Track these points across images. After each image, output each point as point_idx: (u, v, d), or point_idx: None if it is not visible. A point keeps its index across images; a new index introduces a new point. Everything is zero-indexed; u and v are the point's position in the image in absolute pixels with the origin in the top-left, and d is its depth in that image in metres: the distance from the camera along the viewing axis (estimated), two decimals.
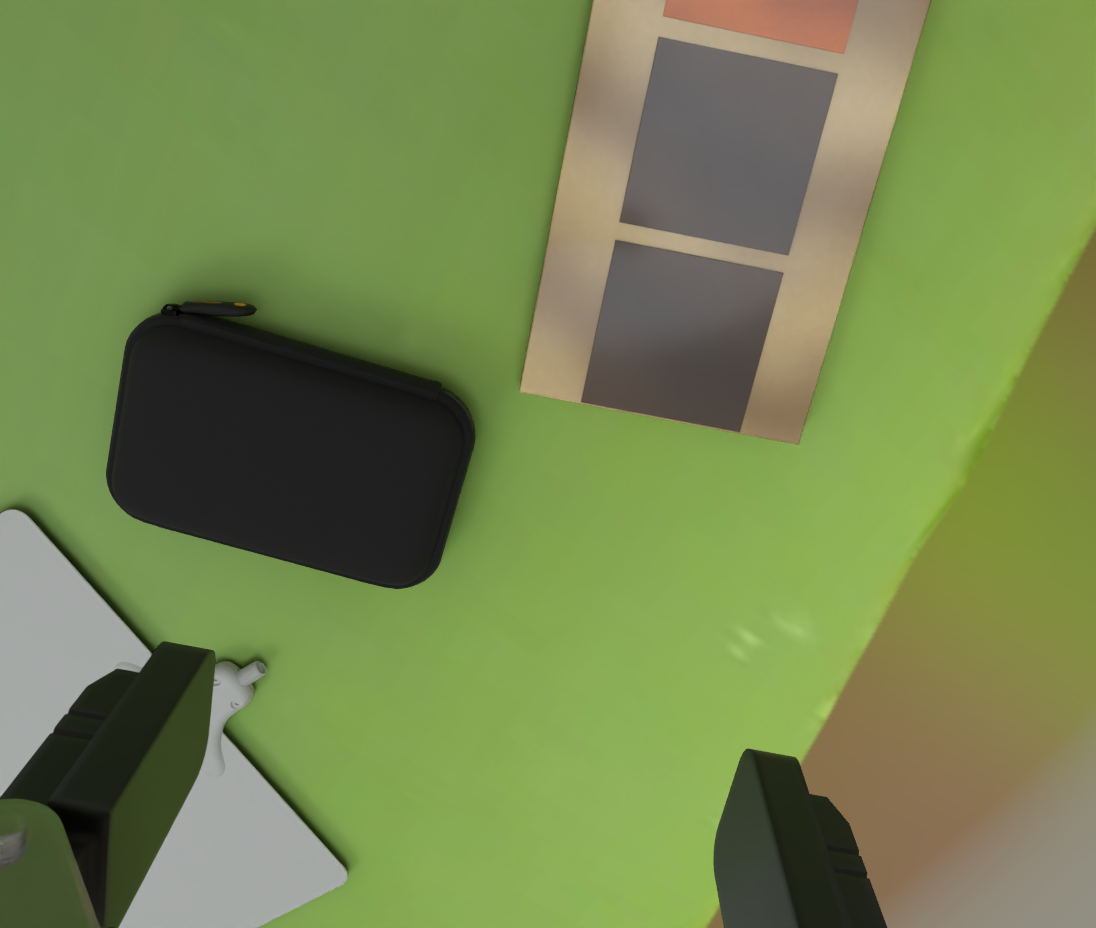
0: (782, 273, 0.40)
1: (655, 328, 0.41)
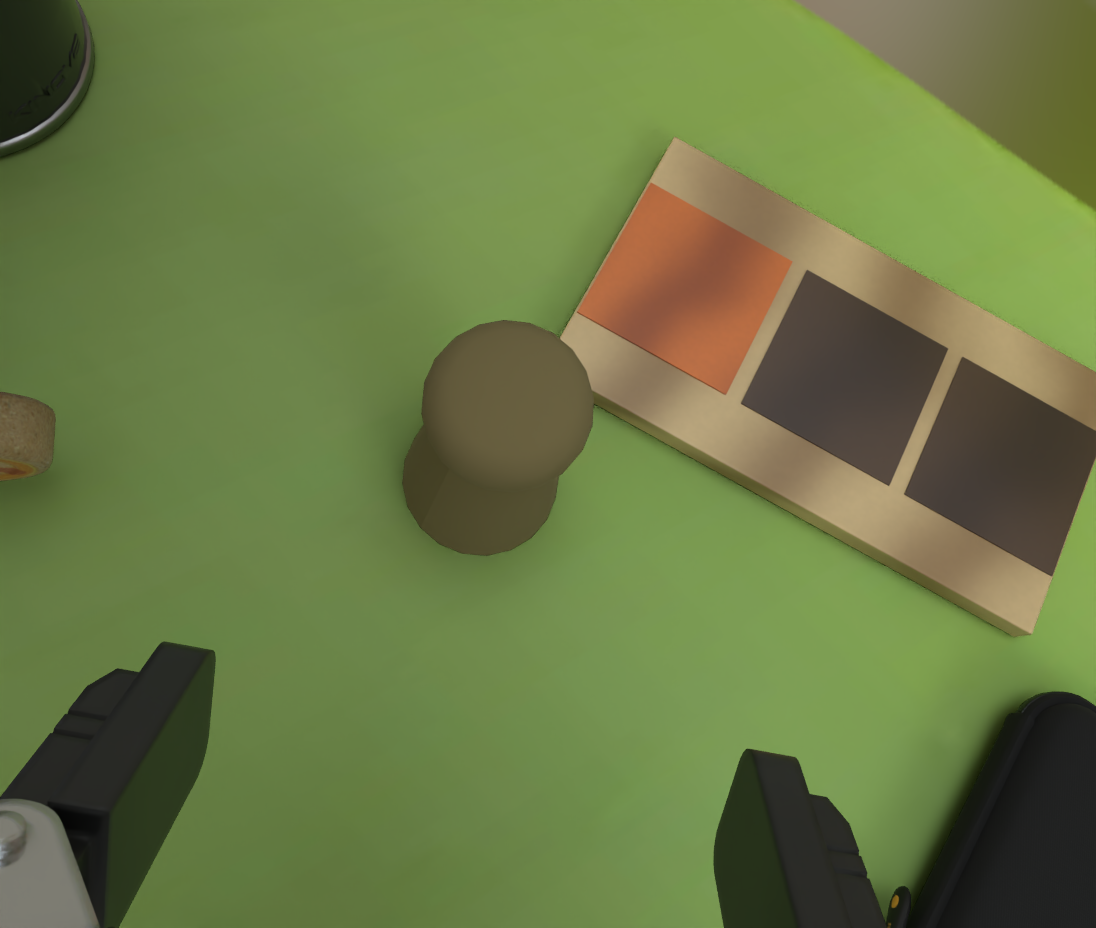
0: (963, 357, 0.43)
1: (992, 482, 0.42)
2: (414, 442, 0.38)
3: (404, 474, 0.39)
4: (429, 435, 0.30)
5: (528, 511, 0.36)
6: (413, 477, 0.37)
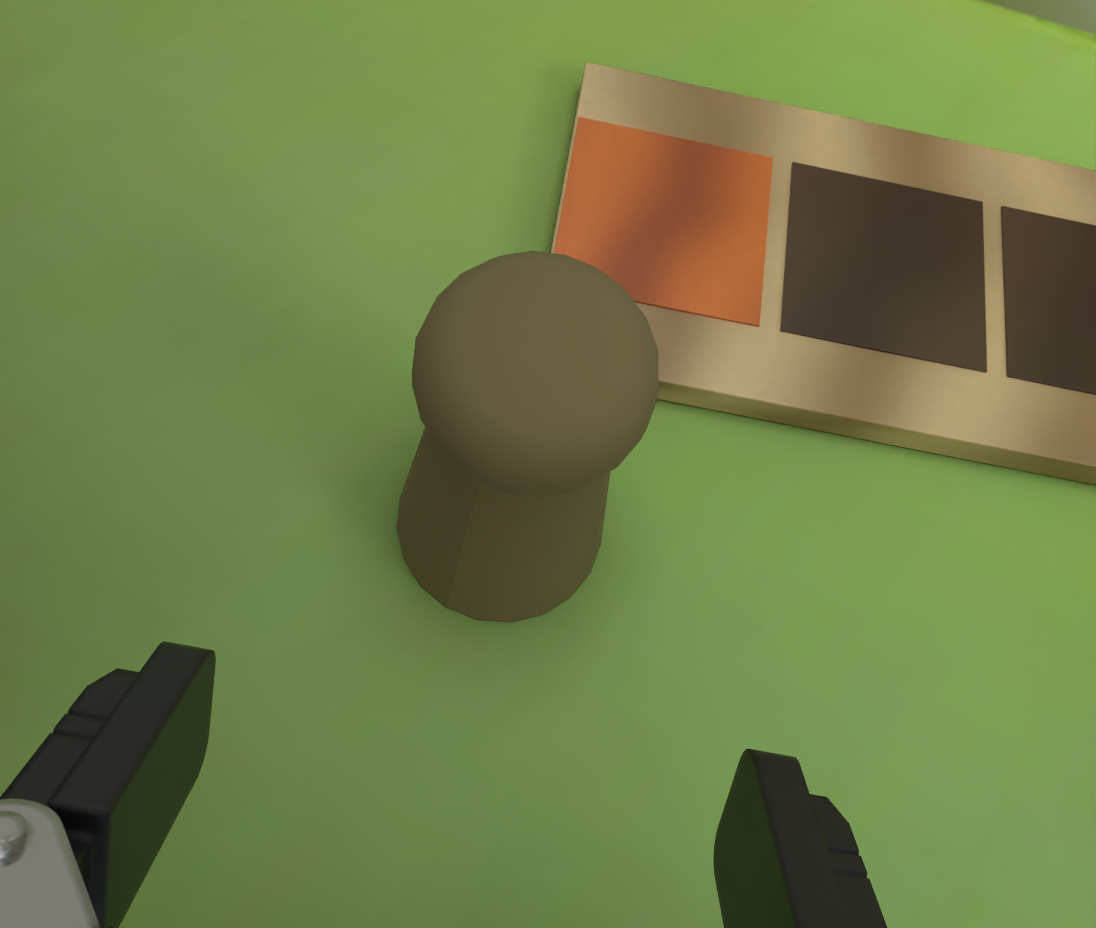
0: (1002, 206, 0.35)
1: None
2: (404, 497, 0.28)
3: (403, 545, 0.29)
4: (444, 441, 0.20)
5: (588, 528, 0.26)
6: (420, 539, 0.27)
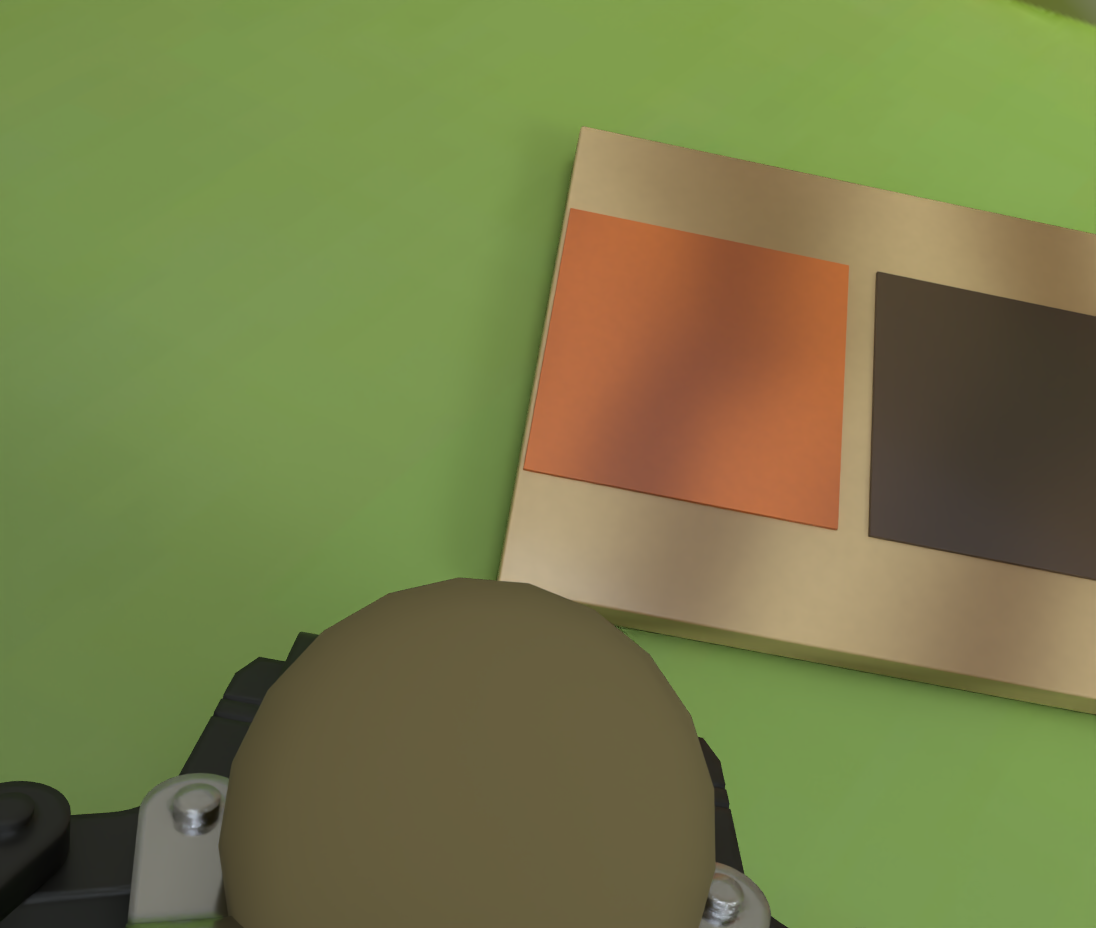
0: None
1: None
2: None
3: None
4: None
5: None
6: None
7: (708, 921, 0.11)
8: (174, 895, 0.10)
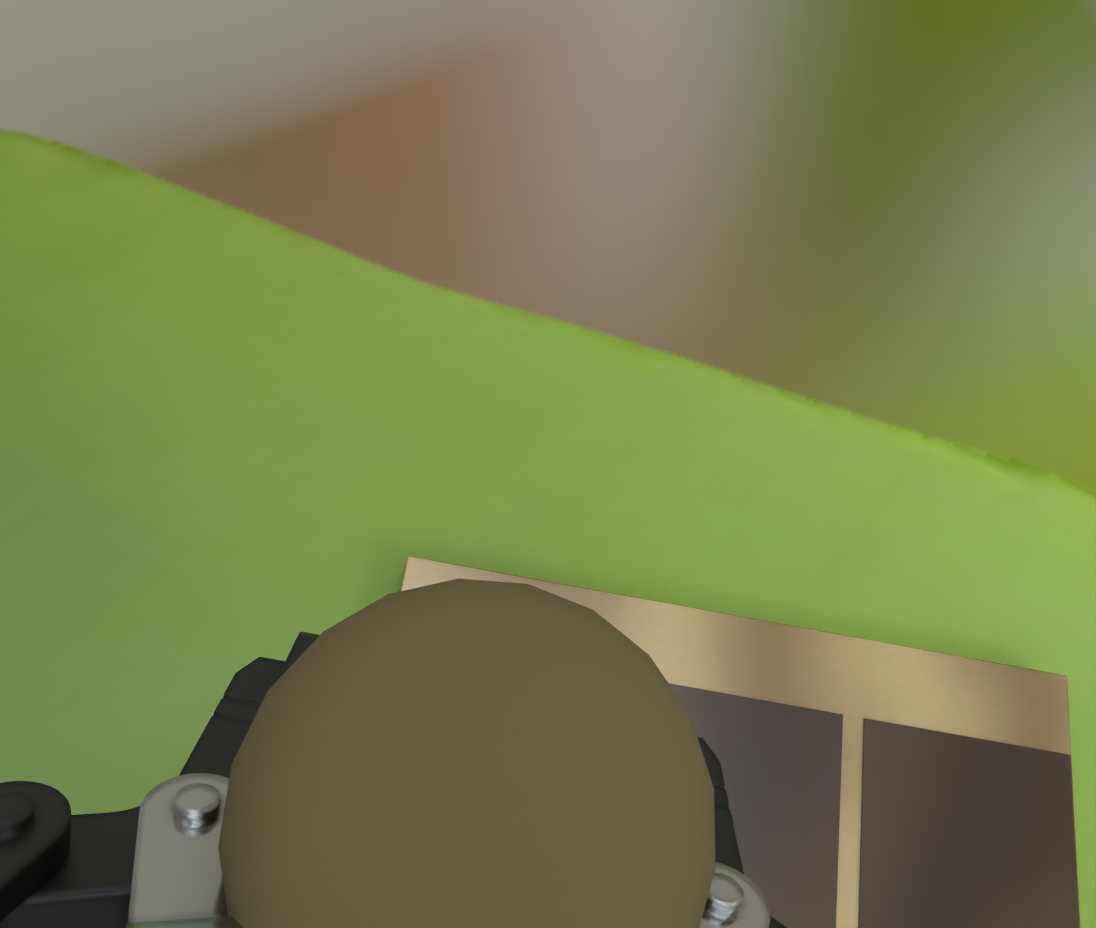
0: (865, 719, 0.32)
1: (962, 886, 0.31)
2: None
3: None
4: None
5: None
6: None
7: (708, 921, 0.11)
8: (174, 895, 0.10)
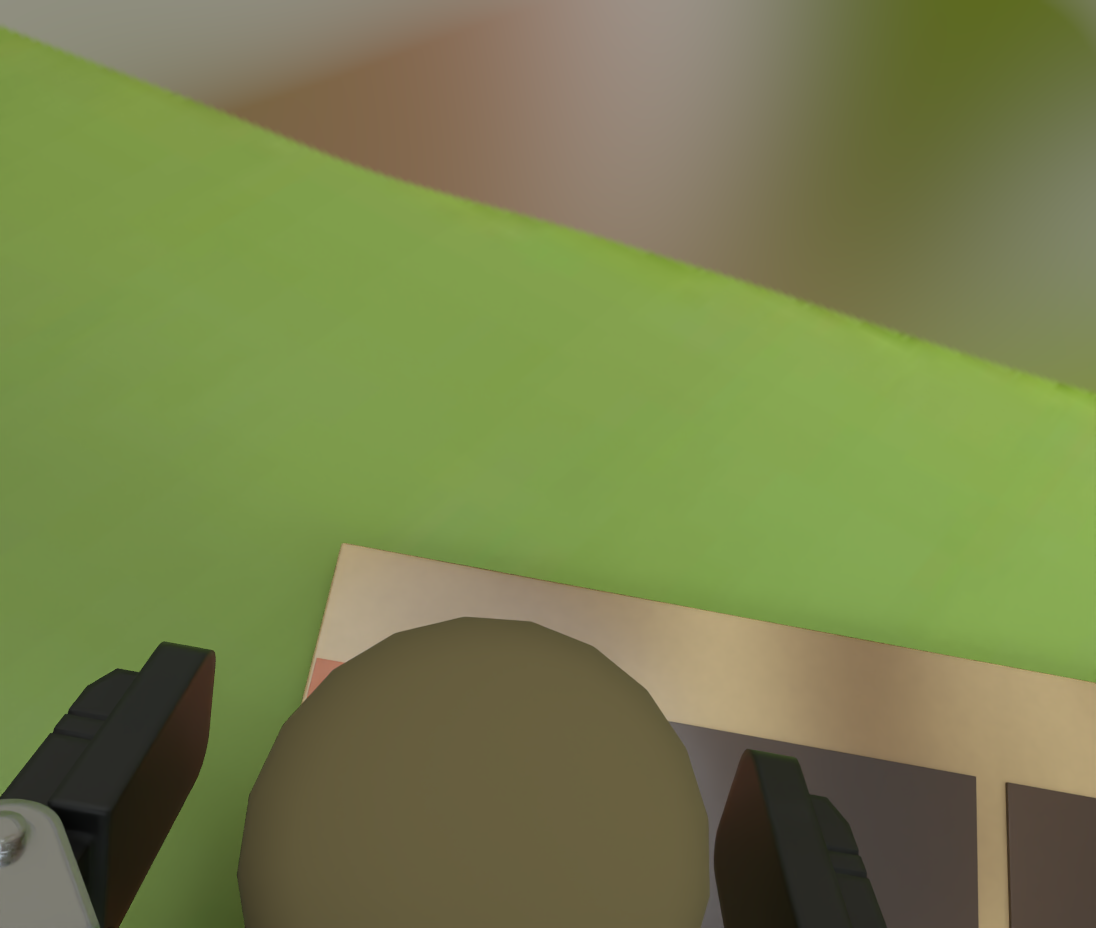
0: (1008, 784, 0.22)
1: None
2: None
3: None
4: None
5: None
6: None
7: None
8: None
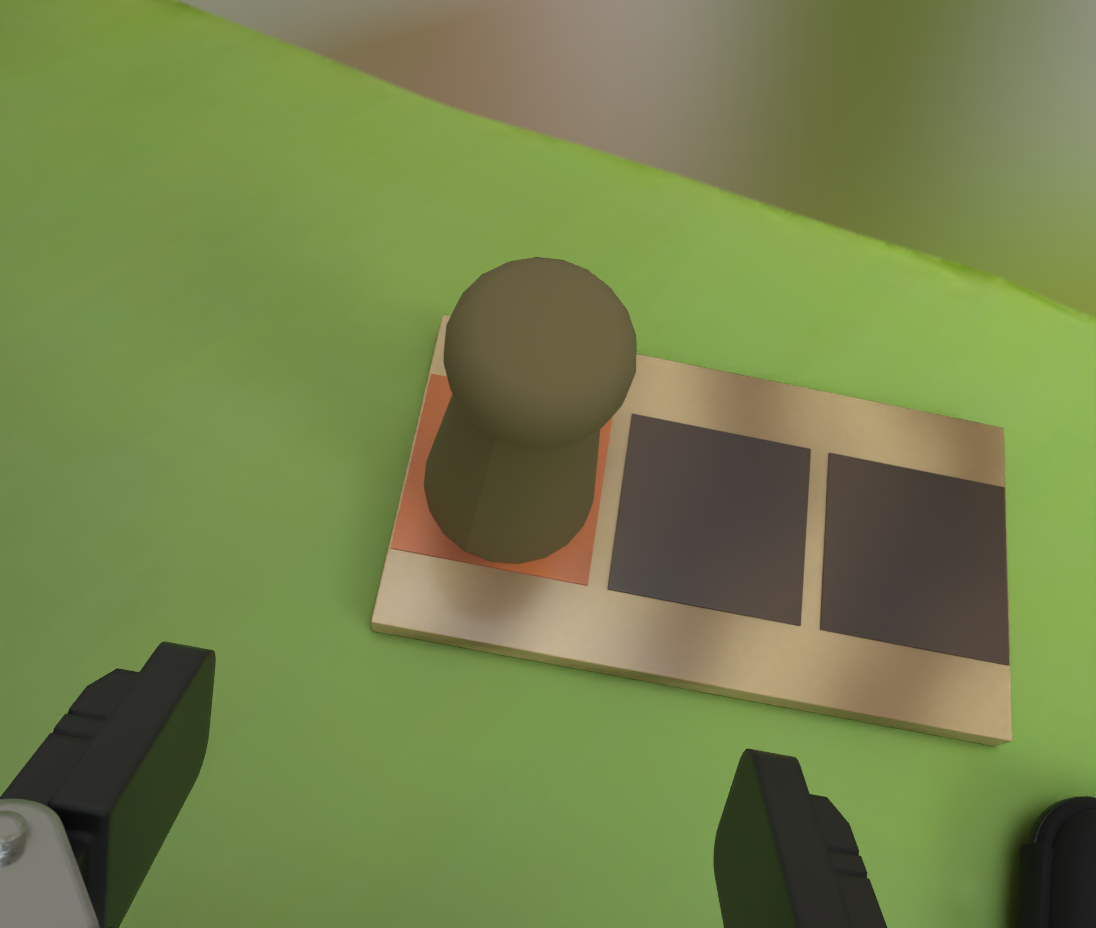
0: (830, 453, 0.38)
1: (909, 582, 0.36)
2: (431, 459, 0.34)
3: (429, 500, 0.35)
4: (469, 404, 0.26)
5: (582, 482, 0.32)
6: (444, 493, 0.33)
7: None
8: None
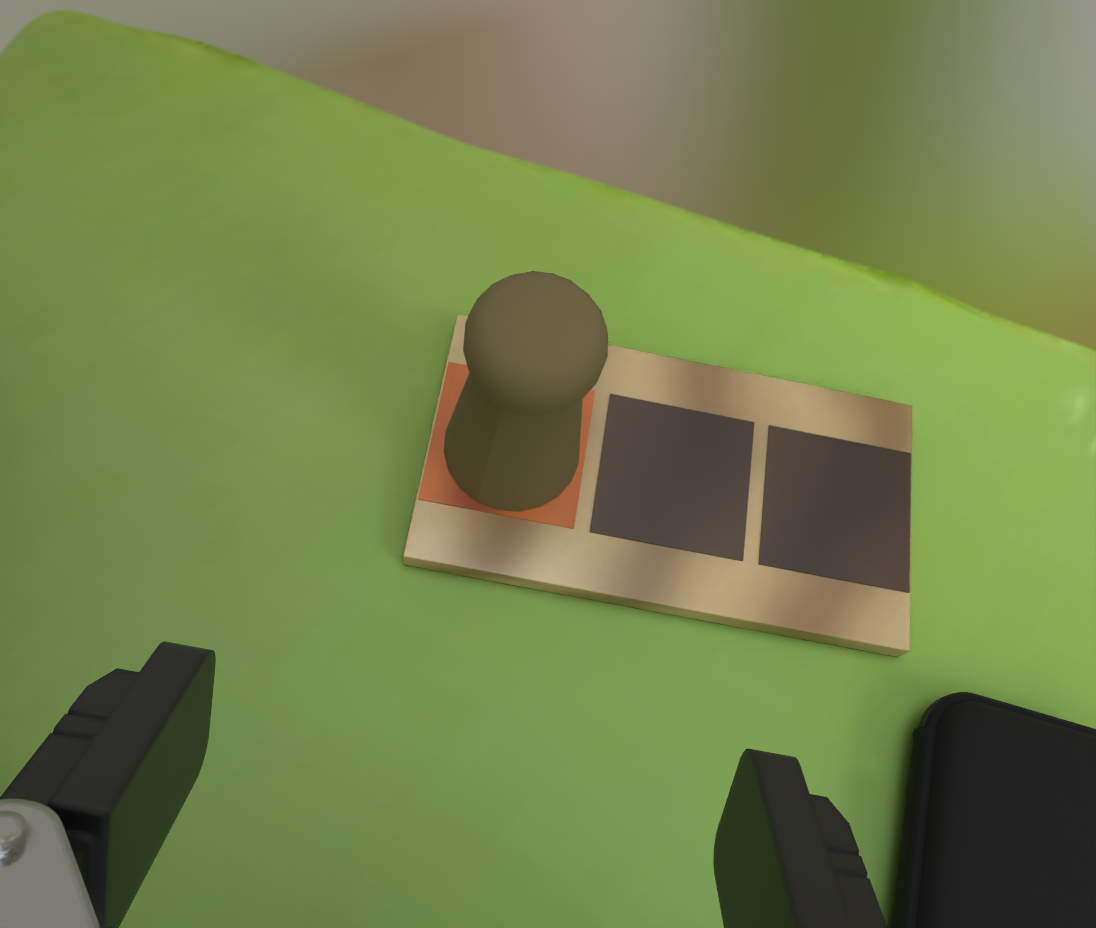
0: (769, 425, 0.47)
1: (831, 527, 0.45)
2: (450, 428, 0.43)
3: (448, 461, 0.44)
4: (483, 381, 0.35)
5: (569, 444, 0.41)
6: (461, 454, 0.42)
7: None
8: None
